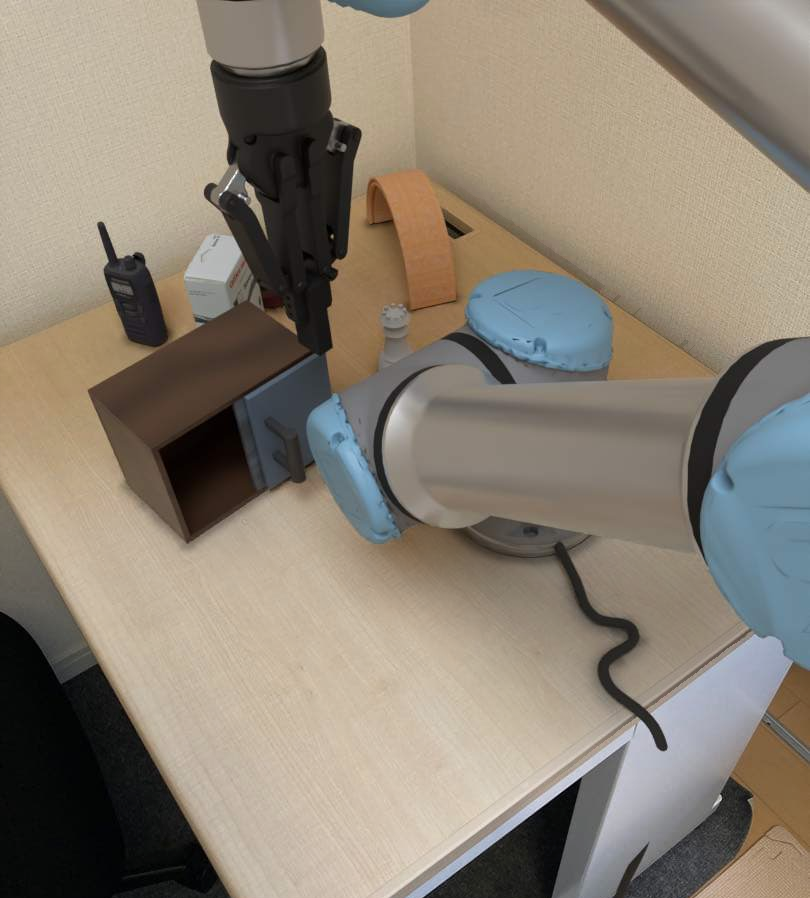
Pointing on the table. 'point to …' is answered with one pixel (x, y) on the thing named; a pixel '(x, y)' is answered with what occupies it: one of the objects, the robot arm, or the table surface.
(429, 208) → the orange arch bridge
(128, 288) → the two-way radio
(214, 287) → the ink box
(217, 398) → the cabinet
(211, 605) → the table surface
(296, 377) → the sliding door
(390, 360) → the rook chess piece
